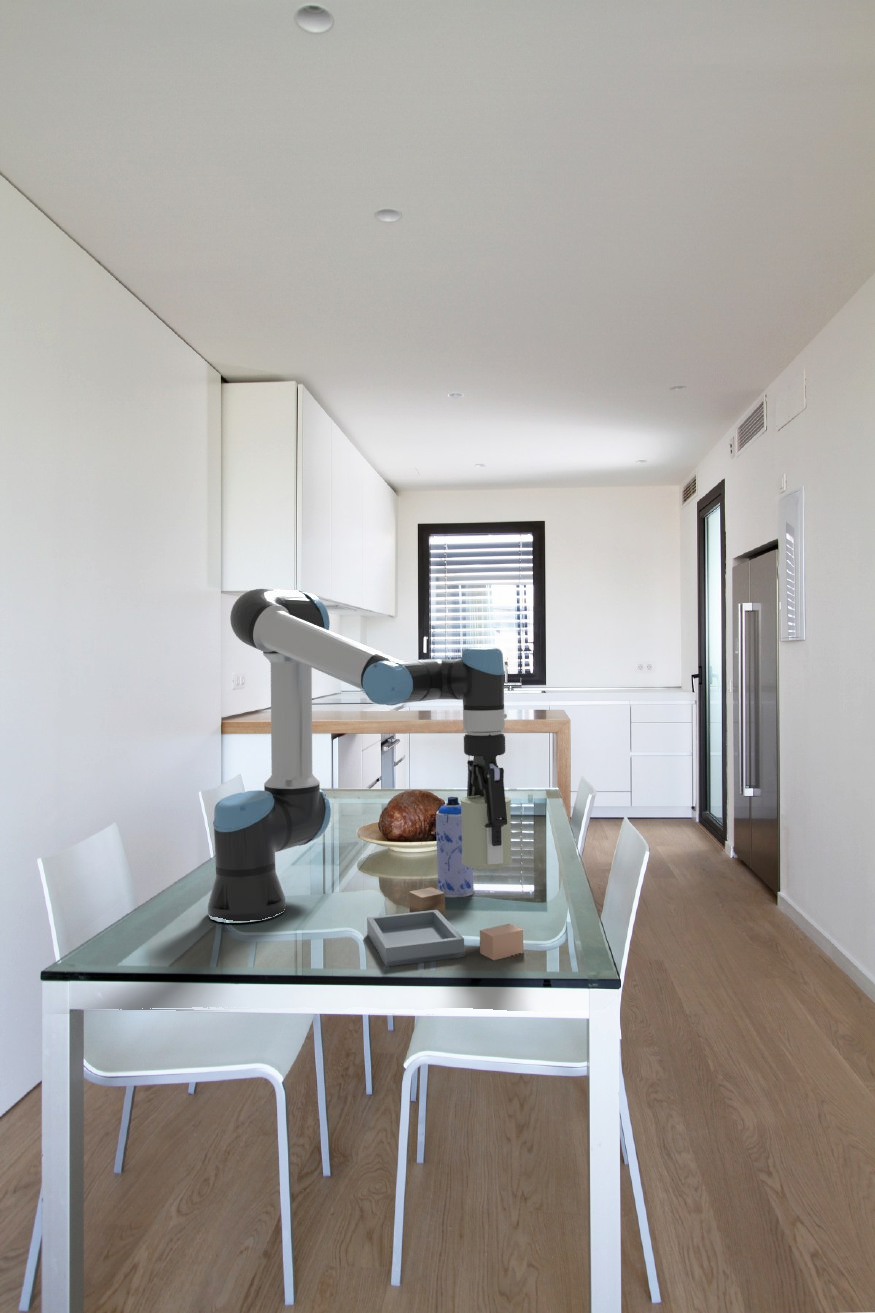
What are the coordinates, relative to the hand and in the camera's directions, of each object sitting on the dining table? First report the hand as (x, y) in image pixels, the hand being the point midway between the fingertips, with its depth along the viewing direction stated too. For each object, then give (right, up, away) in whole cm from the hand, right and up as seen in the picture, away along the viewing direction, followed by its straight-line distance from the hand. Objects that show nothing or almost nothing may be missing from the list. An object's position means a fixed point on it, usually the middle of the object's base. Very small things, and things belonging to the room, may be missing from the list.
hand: (486, 856), depth 155 cm
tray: (-13, -14, -7) cm, 20 cm away
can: (0, -1, 0) cm, 1 cm away
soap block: (+2, -13, -12) cm, 18 cm away
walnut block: (-11, -14, +8) cm, 19 cm away
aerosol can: (-5, -14, +25) cm, 29 cm away
